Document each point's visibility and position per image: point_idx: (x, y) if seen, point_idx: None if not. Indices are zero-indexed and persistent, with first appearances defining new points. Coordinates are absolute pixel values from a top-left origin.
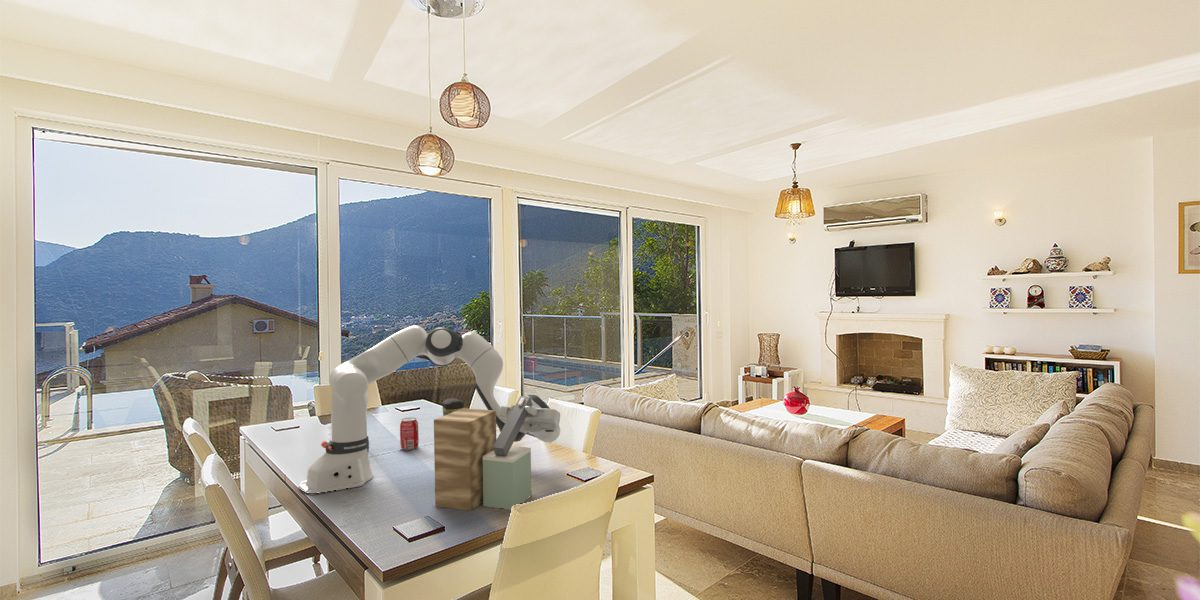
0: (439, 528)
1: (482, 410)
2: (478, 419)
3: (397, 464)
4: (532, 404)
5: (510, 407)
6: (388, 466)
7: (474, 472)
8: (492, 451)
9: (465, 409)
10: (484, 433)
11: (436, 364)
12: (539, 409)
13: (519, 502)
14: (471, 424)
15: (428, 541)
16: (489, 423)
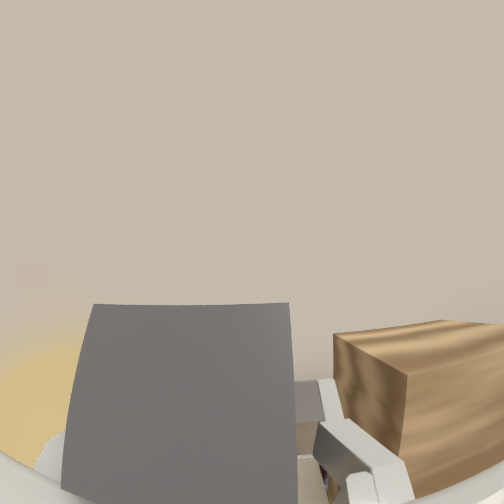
0: (322, 478)
1: (465, 354)
2: (347, 346)
3: None
4: (61, 486)
5: (475, 475)
6: None
7: (333, 484)
8: (319, 490)
9: None
10: (356, 423)
11: None
12: (13, 460)
13: None
14: (336, 346)
15: (306, 457)
16: (373, 409)
